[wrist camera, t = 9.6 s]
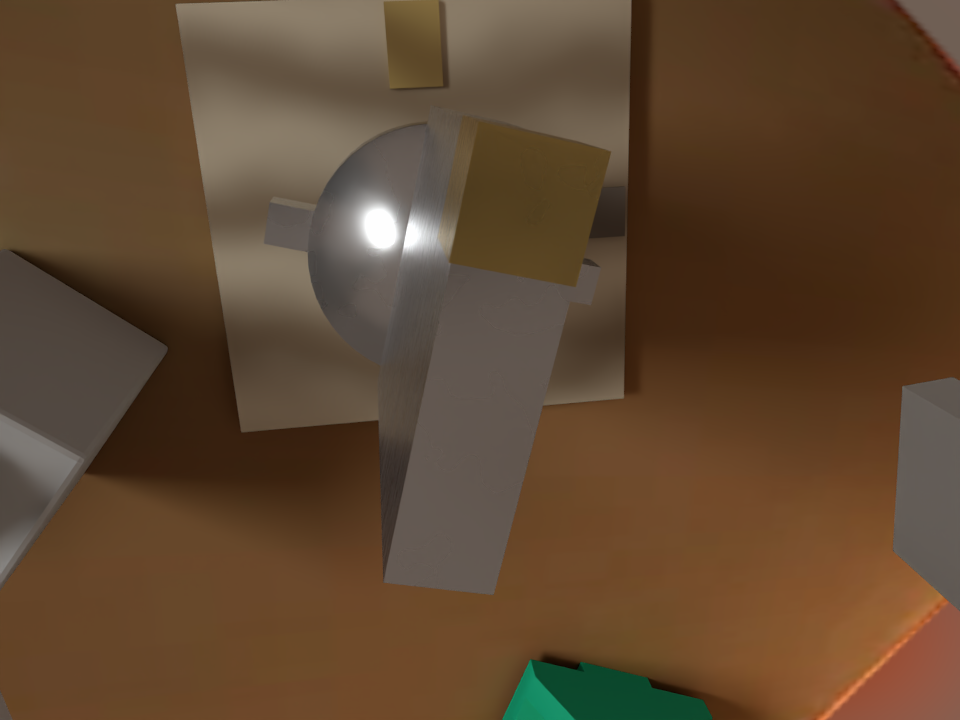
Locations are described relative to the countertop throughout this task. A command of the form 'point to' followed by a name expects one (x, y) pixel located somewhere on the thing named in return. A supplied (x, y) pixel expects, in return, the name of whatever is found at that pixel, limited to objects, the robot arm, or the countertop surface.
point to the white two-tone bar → (452, 317)
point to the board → (357, 118)
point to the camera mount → (596, 696)
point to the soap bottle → (56, 395)
